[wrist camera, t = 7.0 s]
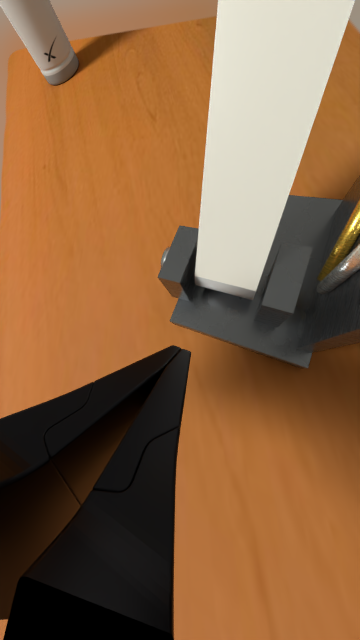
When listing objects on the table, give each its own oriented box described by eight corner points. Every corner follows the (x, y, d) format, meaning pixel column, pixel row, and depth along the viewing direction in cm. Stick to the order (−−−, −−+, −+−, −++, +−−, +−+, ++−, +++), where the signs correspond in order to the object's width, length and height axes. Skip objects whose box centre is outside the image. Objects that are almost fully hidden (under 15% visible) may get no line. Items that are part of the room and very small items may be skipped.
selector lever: (248, 312, 12) (629, -806, 2) (190, 295, 13) (244, -447, 3) (257, 285, 14) (447, -274, 4) (207, 273, 16) (268, -184, 6)
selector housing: (302, 368, 13) (437, 364, 5) (160, 319, 17) (91, 266, 8) (345, 211, 15) (493, 9, 7) (211, 197, 19) (196, 52, 10)
